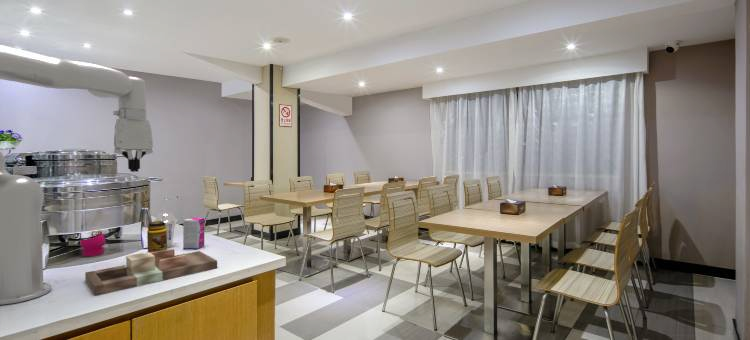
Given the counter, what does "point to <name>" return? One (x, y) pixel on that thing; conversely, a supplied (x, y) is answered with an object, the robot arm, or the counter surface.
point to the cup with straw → (168, 222)
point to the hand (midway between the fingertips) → (134, 171)
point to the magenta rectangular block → (93, 245)
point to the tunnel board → (164, 269)
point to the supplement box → (193, 233)
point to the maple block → (140, 262)
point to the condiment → (157, 236)
